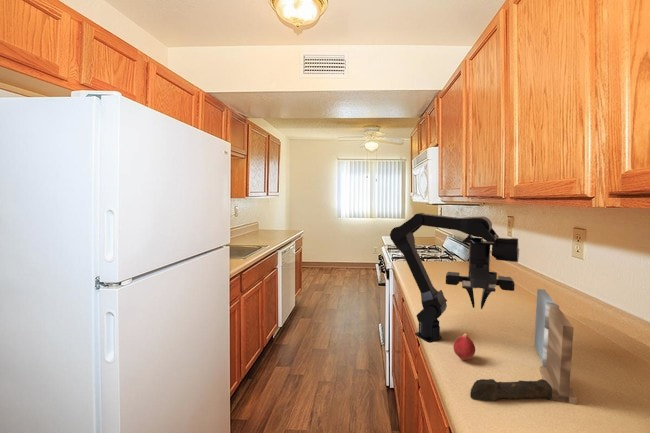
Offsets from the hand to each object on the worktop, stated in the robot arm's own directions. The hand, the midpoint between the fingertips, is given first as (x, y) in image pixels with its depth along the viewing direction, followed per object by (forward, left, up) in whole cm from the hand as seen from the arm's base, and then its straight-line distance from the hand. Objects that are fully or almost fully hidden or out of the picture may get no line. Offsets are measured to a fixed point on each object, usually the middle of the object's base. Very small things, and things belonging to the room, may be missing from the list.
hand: (477, 308), depth 102 cm
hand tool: (+20, -14, -13) cm, 28 cm away
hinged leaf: (+13, +13, -13) cm, 22 cm away
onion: (+3, -9, -13) cm, 16 cm away
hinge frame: (+22, +2, -13) cm, 25 cm away
